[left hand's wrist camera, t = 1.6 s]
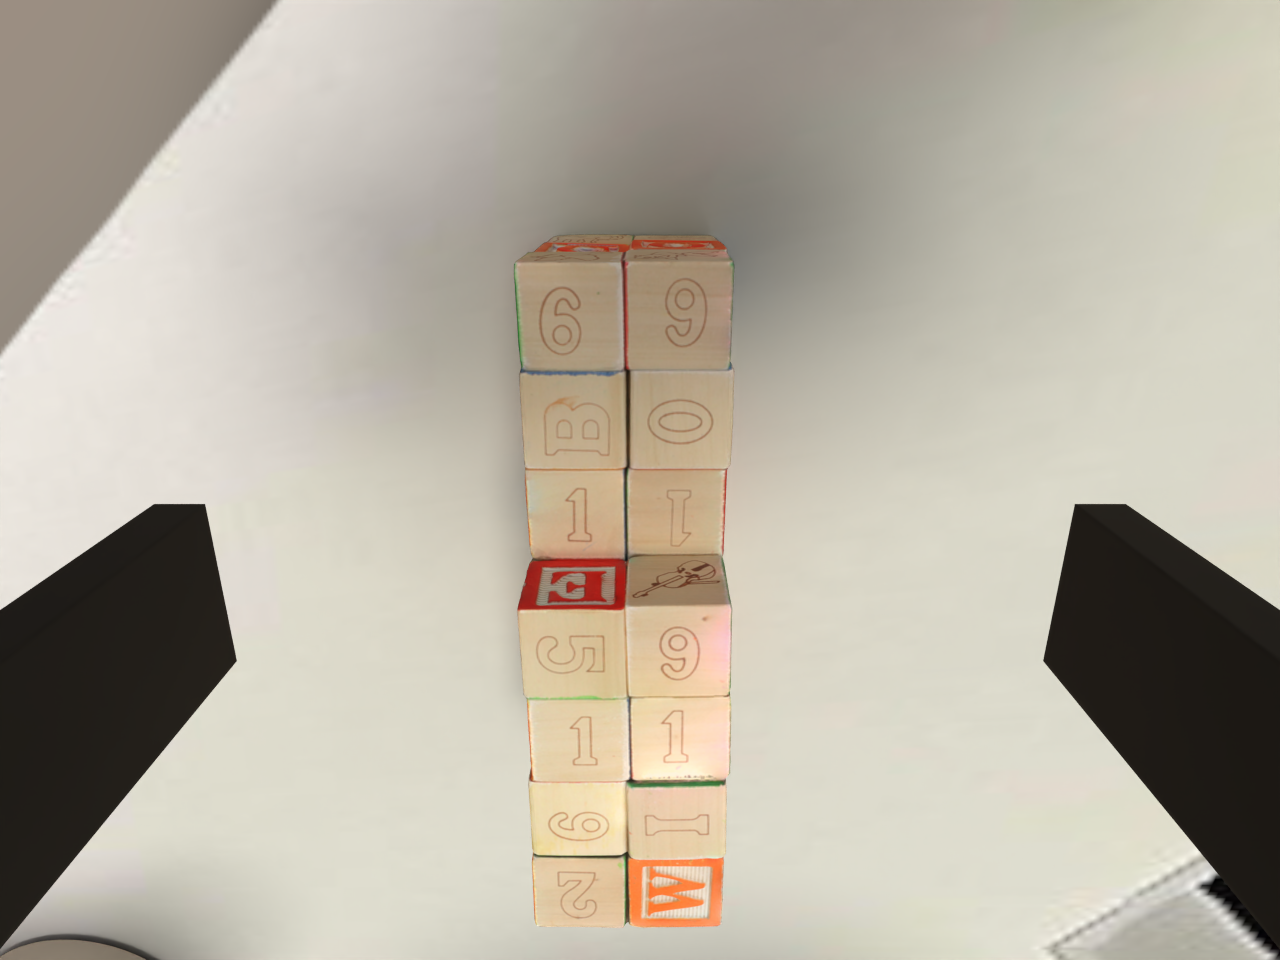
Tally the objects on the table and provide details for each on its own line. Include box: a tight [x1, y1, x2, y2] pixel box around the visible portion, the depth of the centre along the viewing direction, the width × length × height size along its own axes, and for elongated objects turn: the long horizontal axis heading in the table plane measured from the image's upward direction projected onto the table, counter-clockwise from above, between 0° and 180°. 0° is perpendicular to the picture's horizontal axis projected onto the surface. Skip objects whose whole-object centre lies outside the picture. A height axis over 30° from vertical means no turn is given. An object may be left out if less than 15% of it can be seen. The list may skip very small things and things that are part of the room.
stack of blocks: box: [514, 235, 734, 928], centre depth 29 cm, size 21×6×12 cm, turn 0°
